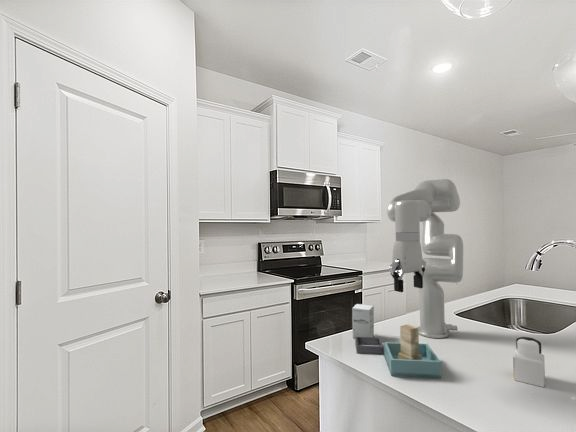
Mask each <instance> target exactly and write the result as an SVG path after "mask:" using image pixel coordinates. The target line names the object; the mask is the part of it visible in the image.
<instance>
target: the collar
mask: <svg viewBox="0 0 576 432" xmlns="http://www.w3.org/2000/svg"><path fill="white" fill-rule="evenodd" d="M354 344H355V351H356V352H355V353H356V354H367V355H368V354H370V355H371V354H373V355H384V343H383V342H382V339H381V337H375V336H373V337H355V338H354Z"/></svg>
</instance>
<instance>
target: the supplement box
mask: <svg viewBox="0 0 576 432" xmlns="http://www.w3.org/2000/svg"><path fill="white" fill-rule="evenodd" d="M374 308H375V307H374V305H369V304H362V303H356V304H354V306H353V307H352V309H351V310H352V311H351V312H352V313H351V314H352V319H351V321H352V339H355V337H375V336H374V335H375V334H374V333H375V331H374V330H375V317H374V315H375V313H374V311H375V309H374Z"/></svg>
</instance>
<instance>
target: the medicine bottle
mask: <svg viewBox="0 0 576 432" xmlns="http://www.w3.org/2000/svg"><path fill="white" fill-rule="evenodd" d="M515 342H516V343H515V344H516V347H515V348H516V349H515V351H514V354H513V357H512V358H513V361H512V362H513V363H512V364H513V380H514V381H515V382H520V383H524V384H529V385H532V386H536V387H541V388H544V387H545V381H546V380H545V379H546V375H545V373H546V368H545V366H546V365H545V355H544V354H542V343H541V341H539V340H537V339H535V338H534V337H528V336H520V337H519V336H518V337H517V338H516V341H515Z"/></svg>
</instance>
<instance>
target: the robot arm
mask: <svg viewBox="0 0 576 432" xmlns="http://www.w3.org/2000/svg"><path fill="white" fill-rule="evenodd" d="M460 206H461V199H460V196H459V192H458V190H457V187H456V185H455V183H454V182H453V181H452V180H451V179H447V178H444V179H442V178H441V179H440V178H439V179H430V180H429V179H427V180H424V181H422V182H421V181H420V183H419V184H418V185H417V186H416V187H415V189H413V190H411V191H408V192H406V193H402V194H399V195H396V196H395V197H393V198H392V200H391V201H390V202H389V203H388V207H387V211H386V213H387V217H388V219H389V220H390V221H391V222H394V223H395V242H393V248H392V259H391V264H390V265H389V266H388V270H389V272H390V275H391V277H392V279H393V290H394V292H399V293H404V279H403V277H404V275H405V274H410V273H414V274H413V287H414V288H417V289H419V326H417V327H418V332H419V335H420V336H423V337H426V338H432V339H444V338H447V337H449V336H450V332H449V331H458V326H457V325H453V324H450V323H446V321H445V319H446V318H445V317H446V316H445V293H444V290H443V287H442V286H441V285H440V284H439V282H440V283H441V282H442V283H443V282H444V283H451V284H452V283H453V284H455V283H460V282H461V281H462V279H463V276H464V275H463V274H464V243H463V239H462V237H461V236H460V235H459V234H455V233H445V223H444V221H443V220H442V218H440V216H438V215H437V214H436V213H453V212H457V211H458V210H459V208H460ZM421 222H422V239H421V233H420V232H421V231H420V226H421V225H420V223H421ZM422 252H423V254H425V255H427V256H431V257H423V254H422ZM433 256H435V257H433ZM438 257H439V258H438ZM440 257H447V258H440Z"/></svg>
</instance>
